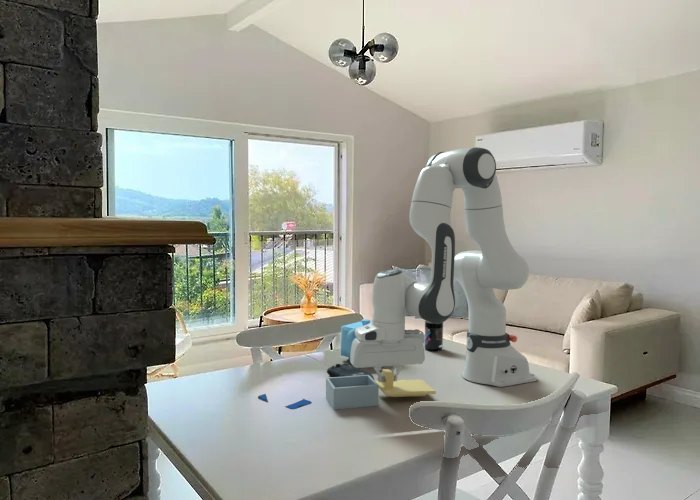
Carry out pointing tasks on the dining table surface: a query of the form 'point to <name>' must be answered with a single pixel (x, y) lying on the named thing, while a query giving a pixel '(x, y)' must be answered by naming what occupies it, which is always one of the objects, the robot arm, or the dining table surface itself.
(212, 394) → the dining table surface
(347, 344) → the teapot
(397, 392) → the lid
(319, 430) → the dining table surface
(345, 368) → the electronic device
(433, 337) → the supplement container
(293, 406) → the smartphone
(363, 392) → the tub
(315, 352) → the dining table surface
